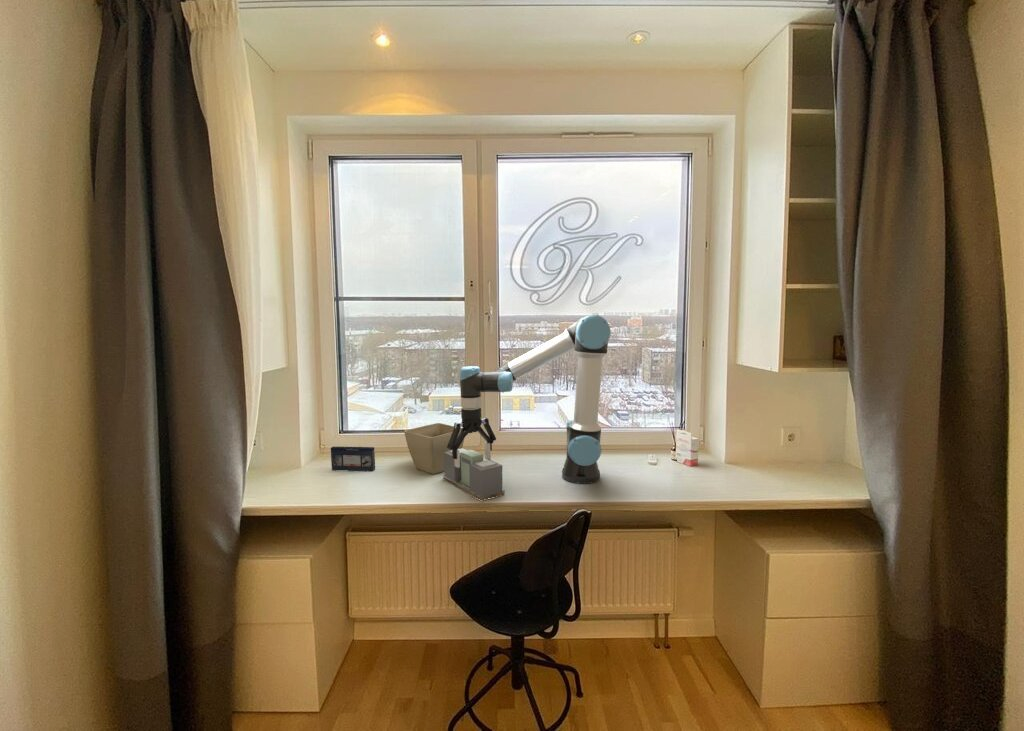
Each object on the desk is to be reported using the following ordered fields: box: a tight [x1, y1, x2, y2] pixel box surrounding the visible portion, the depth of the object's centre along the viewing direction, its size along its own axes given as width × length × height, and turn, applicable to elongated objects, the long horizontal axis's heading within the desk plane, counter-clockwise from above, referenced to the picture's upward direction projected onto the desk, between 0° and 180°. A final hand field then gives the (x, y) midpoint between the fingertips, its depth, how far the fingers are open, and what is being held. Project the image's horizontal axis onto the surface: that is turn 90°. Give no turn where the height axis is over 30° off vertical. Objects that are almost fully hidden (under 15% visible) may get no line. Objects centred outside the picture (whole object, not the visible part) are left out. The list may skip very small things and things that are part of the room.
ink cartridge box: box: [675, 428, 699, 467], centre depth 197 cm, size 9×5×15 cm, turn 28°
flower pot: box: [403, 422, 465, 475], centre depth 192 cm, size 19×19×17 cm
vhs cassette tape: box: [330, 446, 376, 472], centre depth 191 cm, size 18×3×10 cm, turn 83°
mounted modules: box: [444, 447, 504, 497], centre depth 171 cm, size 9×27×11 cm, turn 37°
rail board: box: [442, 474, 506, 501], centre depth 171 cm, size 10×28×2 cm, turn 37°
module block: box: [461, 449, 484, 487], centre depth 171 cm, size 5×8×12 cm, turn 37°
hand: (472, 463), depth 170 cm, fingers open, 13 cm apart
